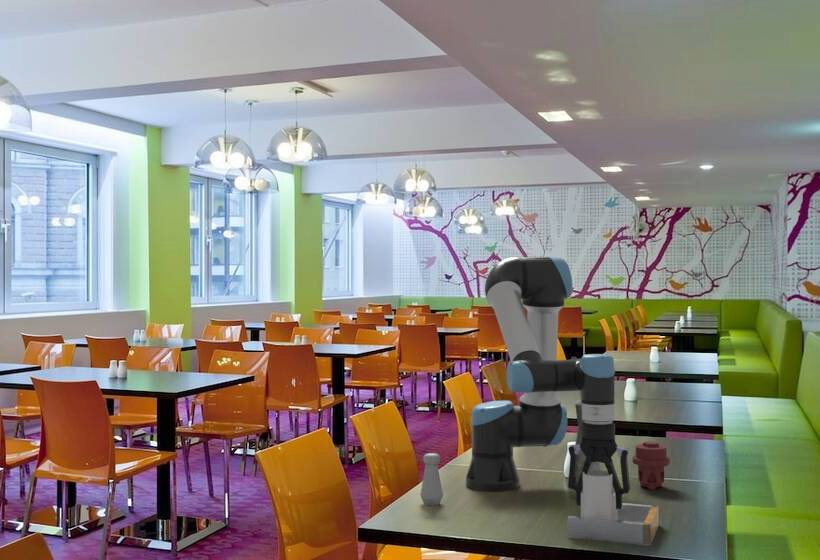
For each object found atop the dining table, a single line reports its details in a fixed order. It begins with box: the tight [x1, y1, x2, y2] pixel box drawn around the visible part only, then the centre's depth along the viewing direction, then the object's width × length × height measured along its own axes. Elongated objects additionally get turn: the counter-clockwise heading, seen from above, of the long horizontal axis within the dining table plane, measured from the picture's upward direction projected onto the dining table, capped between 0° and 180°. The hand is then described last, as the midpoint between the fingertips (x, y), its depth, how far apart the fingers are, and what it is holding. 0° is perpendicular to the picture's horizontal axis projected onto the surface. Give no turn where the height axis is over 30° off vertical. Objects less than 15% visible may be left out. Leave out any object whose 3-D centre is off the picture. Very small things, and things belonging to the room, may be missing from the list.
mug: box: [583, 469, 614, 520], centre depth 199 cm, size 10×7×12 cm, turn 168°
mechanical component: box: [632, 440, 671, 491], centre depth 240 cm, size 12×10×10 cm
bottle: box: [574, 391, 601, 484], centre depth 246 cm, size 9×9×28 cm
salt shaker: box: [420, 452, 444, 507], centre depth 224 cm, size 6×6×13 cm
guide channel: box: [567, 502, 660, 547], centre depth 198 cm, size 18×17×4 cm
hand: (599, 521), depth 199 cm, fingers closed on mug, 6 cm apart
